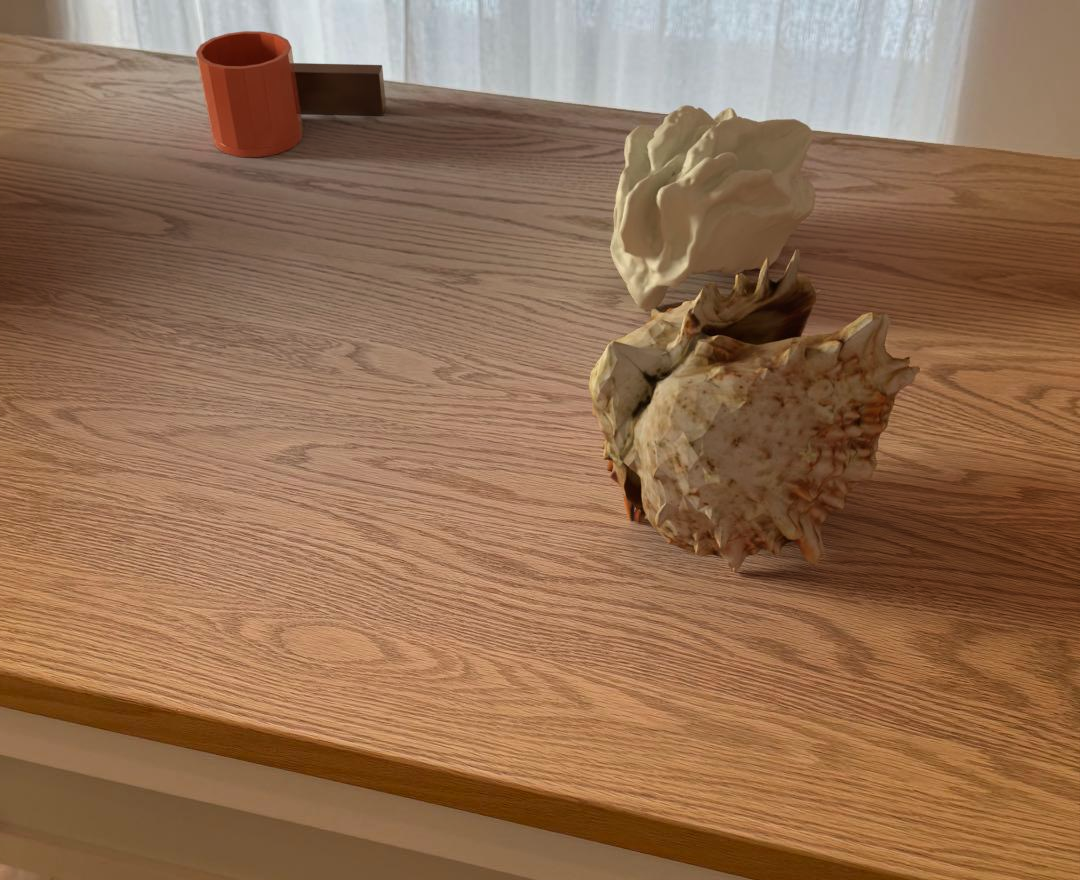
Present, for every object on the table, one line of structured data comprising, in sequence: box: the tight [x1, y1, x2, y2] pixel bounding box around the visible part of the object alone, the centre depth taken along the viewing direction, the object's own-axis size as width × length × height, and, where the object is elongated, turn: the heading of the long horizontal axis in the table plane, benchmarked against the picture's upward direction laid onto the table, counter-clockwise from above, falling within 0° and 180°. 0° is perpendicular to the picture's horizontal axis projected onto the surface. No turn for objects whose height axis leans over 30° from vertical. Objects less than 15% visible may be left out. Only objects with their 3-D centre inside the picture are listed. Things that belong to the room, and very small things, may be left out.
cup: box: [195, 30, 304, 158], centre depth 110 cm, size 8×8×8 cm
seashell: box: [588, 249, 921, 573], centre depth 70 cm, size 18×18×15 cm
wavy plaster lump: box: [609, 104, 817, 312], centre depth 92 cm, size 18×13×16 cm
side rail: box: [294, 62, 387, 116], centre depth 115 cm, size 14×2×4 cm, turn 87°
